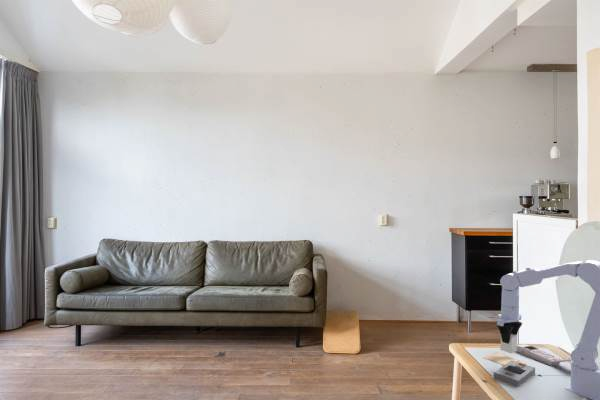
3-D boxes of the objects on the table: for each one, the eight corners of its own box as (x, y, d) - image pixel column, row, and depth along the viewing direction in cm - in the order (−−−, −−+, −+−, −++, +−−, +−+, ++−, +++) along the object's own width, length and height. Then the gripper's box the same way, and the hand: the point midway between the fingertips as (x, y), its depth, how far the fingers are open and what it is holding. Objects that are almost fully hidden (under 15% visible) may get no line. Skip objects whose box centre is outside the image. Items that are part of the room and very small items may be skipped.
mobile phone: (571, 359, 139) (510, 335, 163) (571, 376, 140) (510, 349, 163) (582, 357, 142) (520, 334, 165) (581, 373, 142) (519, 348, 165)
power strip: (511, 368, 145) (511, 358, 145) (534, 375, 139) (535, 366, 139) (493, 380, 135) (493, 370, 135) (517, 389, 129) (518, 379, 129)
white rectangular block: (516, 351, 143) (517, 335, 143) (511, 353, 141) (511, 337, 141) (505, 347, 146) (506, 332, 146) (500, 349, 144) (500, 333, 144)
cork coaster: (519, 362, 150) (519, 360, 150) (507, 367, 144) (507, 366, 144) (495, 353, 158) (495, 352, 158) (483, 358, 152) (483, 357, 152)
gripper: (508, 300, 151) (507, 334, 151) (489, 305, 142) (488, 341, 142) (527, 304, 145) (526, 340, 145) (508, 310, 137) (507, 348, 137)
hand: (508, 341), depth 143 cm, fingers closed on white rectangular block, 4 cm apart
